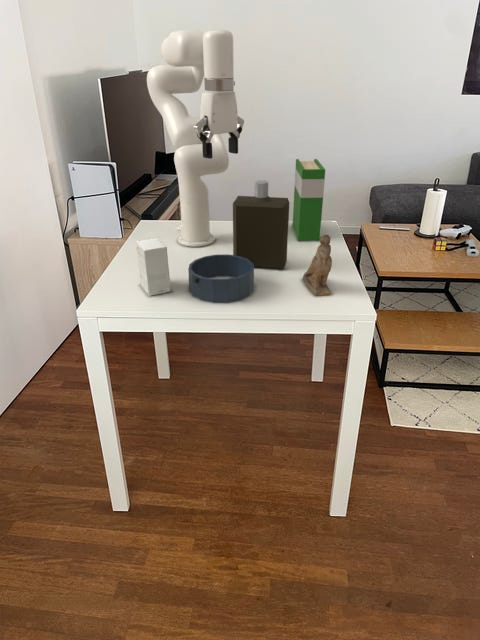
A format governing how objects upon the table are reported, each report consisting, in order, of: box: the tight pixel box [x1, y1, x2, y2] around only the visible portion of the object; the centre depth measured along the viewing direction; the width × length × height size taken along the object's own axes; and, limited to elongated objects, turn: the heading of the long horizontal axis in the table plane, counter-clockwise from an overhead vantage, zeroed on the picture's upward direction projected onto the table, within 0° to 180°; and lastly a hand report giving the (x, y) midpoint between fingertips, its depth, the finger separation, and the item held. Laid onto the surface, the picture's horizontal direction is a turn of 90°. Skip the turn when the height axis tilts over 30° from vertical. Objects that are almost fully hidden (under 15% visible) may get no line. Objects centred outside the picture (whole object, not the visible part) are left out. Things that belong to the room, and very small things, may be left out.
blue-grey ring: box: [187, 253, 255, 304], centre depth 130 cm, size 18×20×6 cm
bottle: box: [232, 179, 290, 270], centre depth 140 cm, size 8×16×25 cm, turn 80°
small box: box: [135, 237, 172, 297], centre depth 128 cm, size 8×6×13 cm
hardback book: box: [292, 158, 326, 242], centre depth 166 cm, size 18×7×24 cm, turn 1°
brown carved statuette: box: [302, 234, 333, 297], centre depth 127 cm, size 12×6×18 cm, turn 6°
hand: (220, 155), depth 131 cm, fingers open, 9 cm apart
